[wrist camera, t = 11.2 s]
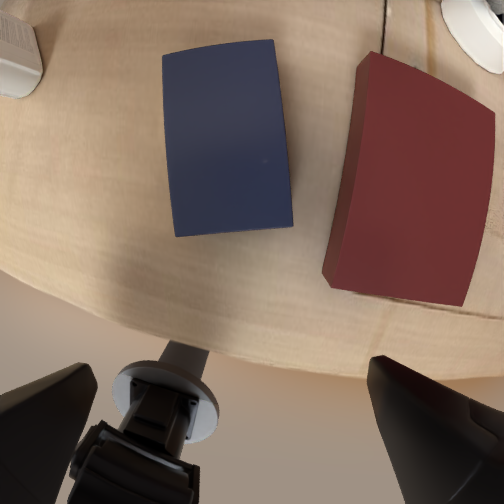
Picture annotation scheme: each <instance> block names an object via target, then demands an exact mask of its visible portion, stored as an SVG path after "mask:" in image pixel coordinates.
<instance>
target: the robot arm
mask: <svg viewBox="0 0 504 504" xmlns="http://www.w3.org/2000/svg"><path fill="white" fill-rule="evenodd" d="M135 383H136V384H135ZM367 386H368V390H369V394H370V398H371V401H372V405H373V409H374V413H375V417H376V421H377V425H378V428H379V431H380V433H381V436H382V439H383V441H384V444H385V447H386V449H387V452H388V455H389V457H390V460H391V463H392V466H393V469H394V471H395V474H396V477H397V480H398V483H399V486H400V489H401V491H402V495H403V498H404V501H405V504H504V412H502V411H498V410H496V409H493V408H491V407H489V406H486V405H484V404H482V403H480V402H478V401H475V400H473V399H471V398H470V399H469V397H467V396H465V395H463V394H461V393H458V392H456V391H454V390H452V389H450V388H448V387H446V386H444V385H442V384H440V383H438V382H436V381H434V380H432V379H430V378H428V377H426V376H424V375H422V374H420V373H418V372H416V371H414V370H412V369H410V368H408V367H406V366H404V365H402V364H400V363H398V362H396V361H394V360H392V359H390V358H389V357H387V356H384V355H381V356H375V357H372V358H371V359H370V362H369V369H368V375H367ZM97 388H98V386H97V381H96V379H95V377H94V374H93V372H92V369H91V367H90V366H89V364H86V363H76V364H73V365H71V366H69V367H67V368H64V369H62V370H59V371H57V372H55V373H53V374H50V375H48V376H45V377H43V378H41V379H38V380H36V381H34V382H31V383H29V384H26V385H24V386H21V387H19V388H16V389H14V390H11V391H9V392H6V393H4V394H2V395H0V504H55V502H56V499H57V496H58V493H59V490H60V487H61V485H62V482H63V479H64V476H65V474H66V471H67V468H68V466H69V463H70V462H71V466H70V468H71V469H70V473H69V477H70V478H72V479H74V480H75V483H74V486H73V488H72V490H71V492H70V495H69V497H68V500H67V504H198V503H199V483H200V481H199V480H200V467H199V466H197V465H194V464H193V465H192V464H189V463H186V462H184V461H181V460H179V459H180V456H181V452H182V449H183V445H184V442H185V440H190V439H191V436H192V432H193V428H194V423H195V419H196V415H197V410H198V406H199V399H197V398H196V397H192V396H189V395H185V394H182V393H179V392H176V391H172V390H169V389H166V388H163V387H160V386H157V385H154V384H151V383H148V382H145V381H143V380H140V379H137V378H132V379H131V381H130V408H129V410H128V412H127V413H126V415H125V417H124V419H123V421H122V423H121V424H120V426H119V428H118V430H117V429H115V428H113V427H111V426H110V425H108V424H107V422H105V421H103V420H101V421H100V423H99V424H98V425H95V426H91V427H90V429H89V431H88V432H87V434H86V435H85V437H84V438H83V439H82V440H81V441H80V442H79V443H78V441H79V439H80V436H81V434H82V432H83V429H84V427H85V424H86V422H87V419H88V416H89V413H90V410H91V406H92V403H93V400H94V398H95V395H96V392H97ZM193 402H195V403H193ZM77 443H78V444H77Z"/></svg>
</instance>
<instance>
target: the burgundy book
mask: <svg viewBox="0 0 504 504" xmlns="http://www.w3.org/2000/svg"><path fill="white" fill-rule="evenodd" d="M494 150H495V113H494V112H493V111H491V110H490V109H488V108H487V107H485V106H484V105H482V104H481V103H479V102H478V101H476V100H474V99H473V98H471V97H469V96H468V95H466V94H464V93H463V92H461V91H459V90H457V89H456V88H454V87H452V86H450V85H448V84H446V83H444V82H443V81H441V80H439V79H437V78H435V77H433V76H431V75H429V74H426V73H424V72H422V71H420V70H418V69H416V68H413V67H411V66H409V65H406V64H404V63H402V62H399V61H397V60H394V59H392V58H389V57H386V56H384V55H381V54H378V53H375V52H373V51H370V52H369V54H368V55H367V56H366V57H365V58H364V59H363V61H362V62H361V63H360V64H359V65H358V67H357V72H356V82H355V91H354V100H353V108H352V116H351V123H350V130H349V137H348V143H347V150H346V156H345V162H344V168H343V174H342V179H341V185H340V190H339V195H338V201H337V206H336V211H335V216H334V220H333V225H332V230H331V234H330V239H329V243H328V248H327V252H326V256H325V261H324V265H323V269H322V274H323V276H324V277H325V279H326V280H327V282H328V283H329V285H330V287H331V288H336V289H342V290H348V291H355V292H361V293H368V294H374V295H381V296H388V297H394V298H401V299H408V300H415V301H422V302H430V303H437V304H444V305H452V306H460V307H462V306H463V303H464V300H465V297H466V294H467V291H468V288H469V285H470V282H471V279H472V275H473V272H474V269H475V265H476V261H477V258H478V254H479V250H480V246H481V241H482V237H483V233H484V228H485V223H486V217H487V212H488V206H489V200H490V193H491V185H492V176H493V165H494Z"/></svg>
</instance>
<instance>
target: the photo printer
mask: <svg viewBox="0 0 504 504" xmlns="http://www.w3.org/2000/svg"><path fill="white" fill-rule="evenodd" d="M42 73H43V68H42V61H41V58H40V53H39V49H38V45H37V41H36V37H35V34H34V31H33V28H32V27H31V26H30V25H29V24H28V23H26V22H24V21H23V20H21V19H19V18H17V17H15V16H12V15H11V14H9V13H6V12H4V11H2V10H0V96H4V97H9V98H13V99H20V98H21V97H25V96H27V95H29V94H30V93H31V92H32V91H33V90H34V89H35V87H36V86H37V85H38V83H39V81H40V79H41V75H42Z"/></svg>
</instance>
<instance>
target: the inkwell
mask: <svg viewBox="0 0 504 504" xmlns="http://www.w3.org/2000/svg"><path fill="white" fill-rule="evenodd" d="M441 9H442V15H443V19H444V21H445V23H446V25H447V27H448V29H449V31H450V33H451V34H452V36H453V37H454V38H455V40H456V41H457V42H458V44H459V45H460V47H461V48H462V49H463V50H464V51H465V52H466V53H467V54H468V55H469V56H470V57H471V58H472V59H473V61H474V62H475V63H477V64H478V65H480V66H481V67H483V68H484V69H486V70H487V71H489V72H492V73H497V74H502V73H503V72H504V0H443V1H442V3H441Z"/></svg>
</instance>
